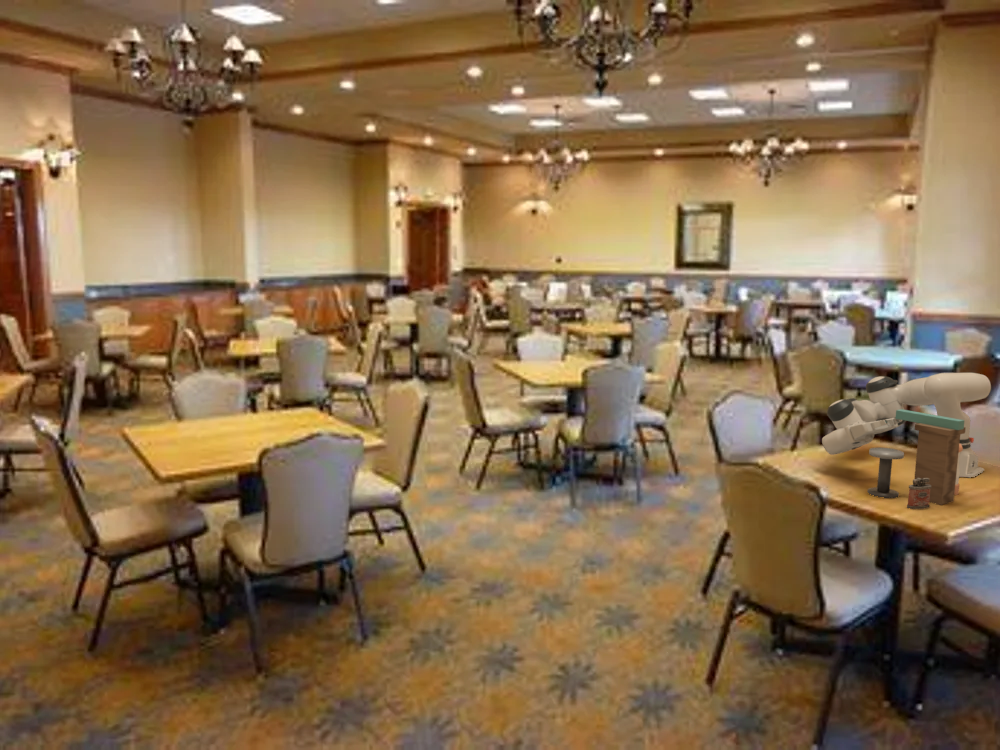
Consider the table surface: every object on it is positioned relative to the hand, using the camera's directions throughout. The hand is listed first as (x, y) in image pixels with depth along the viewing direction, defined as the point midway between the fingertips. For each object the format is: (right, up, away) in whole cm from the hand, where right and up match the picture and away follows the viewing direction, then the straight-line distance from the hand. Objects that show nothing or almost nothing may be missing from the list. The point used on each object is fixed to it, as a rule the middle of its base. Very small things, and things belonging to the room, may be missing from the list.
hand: (893, 420), depth 299 cm
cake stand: (-5, -26, -4) cm, 27 cm away
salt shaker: (+19, -26, 0) cm, 32 cm away
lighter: (0, -28, -18) cm, 34 cm away
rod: (+8, -1, -10) cm, 12 cm away
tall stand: (+9, -27, -9) cm, 30 cm away
